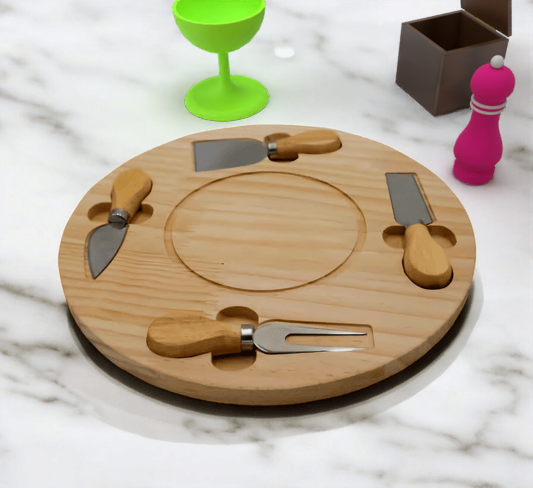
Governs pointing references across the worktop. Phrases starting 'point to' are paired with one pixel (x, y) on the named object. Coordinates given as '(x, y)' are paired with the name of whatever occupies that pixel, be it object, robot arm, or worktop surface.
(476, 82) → the pepper mill
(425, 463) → the worktop surface
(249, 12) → the wineglass
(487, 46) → the chest
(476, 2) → the lid
